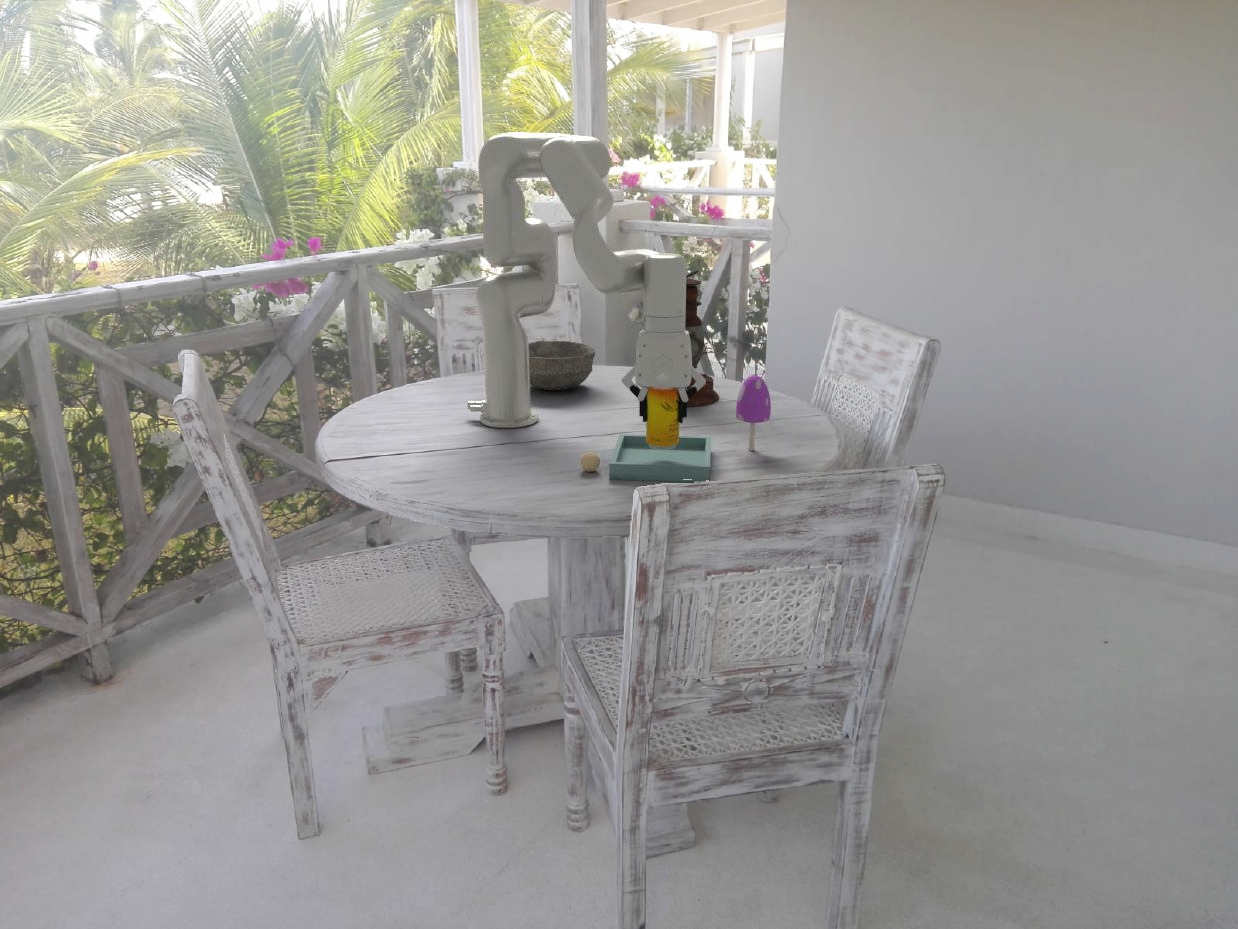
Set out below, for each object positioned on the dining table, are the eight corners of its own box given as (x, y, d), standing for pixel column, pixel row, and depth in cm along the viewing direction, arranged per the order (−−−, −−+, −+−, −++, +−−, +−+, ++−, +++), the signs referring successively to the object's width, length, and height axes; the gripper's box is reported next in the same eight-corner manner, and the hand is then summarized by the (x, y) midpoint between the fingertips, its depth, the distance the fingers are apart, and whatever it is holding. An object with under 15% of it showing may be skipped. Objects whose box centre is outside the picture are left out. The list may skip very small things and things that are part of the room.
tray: (609, 479, 170) (609, 463, 169) (619, 448, 187) (619, 434, 186) (709, 482, 168) (709, 466, 167) (710, 451, 185) (711, 436, 184)
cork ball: (579, 474, 173) (579, 455, 171) (582, 467, 176) (581, 449, 175) (598, 474, 172) (598, 456, 171) (601, 468, 176) (601, 449, 174)
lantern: (657, 384, 236) (659, 262, 227) (729, 392, 229) (734, 267, 219) (626, 402, 220) (626, 272, 210) (703, 411, 213) (707, 277, 203)
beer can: (676, 451, 173) (677, 371, 168) (643, 449, 174) (644, 370, 169) (680, 441, 179) (682, 364, 174) (649, 440, 180) (649, 362, 175)
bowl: (594, 399, 222) (594, 358, 219) (507, 399, 223) (505, 357, 219) (597, 378, 242) (597, 340, 239) (517, 378, 242) (516, 339, 239)
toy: (760, 457, 182) (763, 381, 177) (728, 451, 185) (731, 376, 180) (773, 448, 187) (778, 374, 182) (743, 442, 191) (746, 370, 186)
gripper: (614, 327, 166) (614, 425, 172) (712, 328, 165) (709, 427, 170) (618, 319, 173) (618, 413, 179) (712, 321, 172) (710, 416, 177)
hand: (663, 419), depth 175 cm, fingers closed on beer can, 6 cm apart
